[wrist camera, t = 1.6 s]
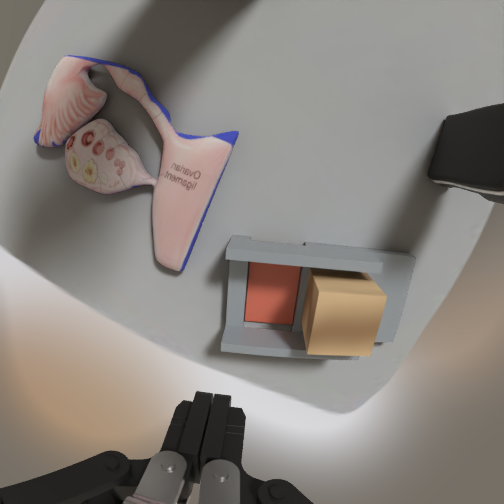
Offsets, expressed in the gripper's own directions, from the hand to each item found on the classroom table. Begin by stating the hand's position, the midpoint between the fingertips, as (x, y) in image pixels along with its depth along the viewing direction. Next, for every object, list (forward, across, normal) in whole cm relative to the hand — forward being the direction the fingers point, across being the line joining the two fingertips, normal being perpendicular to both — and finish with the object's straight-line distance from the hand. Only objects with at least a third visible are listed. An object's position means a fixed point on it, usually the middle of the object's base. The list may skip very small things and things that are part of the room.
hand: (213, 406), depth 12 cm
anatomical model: (+16, +12, -11) cm, 23 cm away
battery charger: (+15, -18, -14) cm, 27 cm away
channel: (+15, -7, 0) cm, 16 cm away
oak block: (+14, -8, 0) cm, 16 cm away
